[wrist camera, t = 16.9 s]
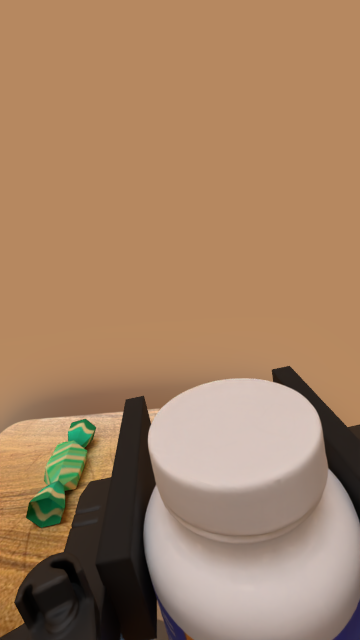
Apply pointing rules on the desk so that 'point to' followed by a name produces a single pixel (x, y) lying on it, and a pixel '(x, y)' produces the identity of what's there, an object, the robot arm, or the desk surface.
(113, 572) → the robot arm
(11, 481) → the desk surface
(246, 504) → the pill bottle
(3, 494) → the desk surface
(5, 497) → the desk surface
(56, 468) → the candy
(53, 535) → the desk surface
